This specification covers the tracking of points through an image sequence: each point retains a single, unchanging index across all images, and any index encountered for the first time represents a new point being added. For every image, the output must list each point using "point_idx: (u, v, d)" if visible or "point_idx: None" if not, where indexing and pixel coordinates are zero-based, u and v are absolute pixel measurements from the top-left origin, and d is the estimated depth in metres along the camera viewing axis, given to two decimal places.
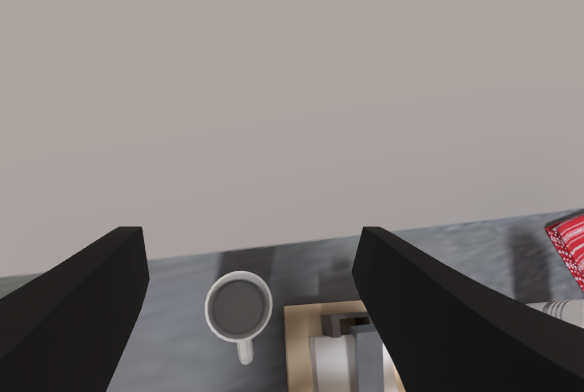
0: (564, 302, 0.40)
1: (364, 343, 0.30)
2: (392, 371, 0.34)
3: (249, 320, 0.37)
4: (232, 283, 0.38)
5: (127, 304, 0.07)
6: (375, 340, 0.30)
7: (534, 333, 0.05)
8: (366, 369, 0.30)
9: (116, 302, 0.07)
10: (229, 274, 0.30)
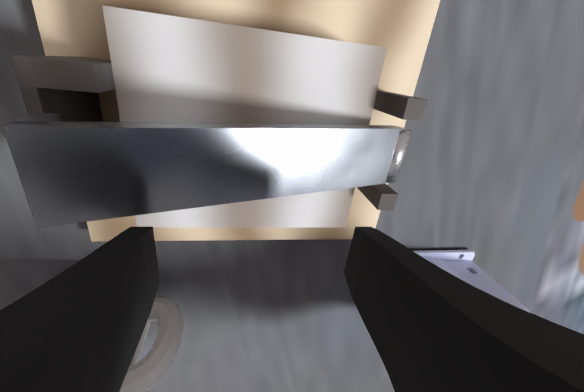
0: None
1: (78, 199, 0.08)
2: (225, 30, 0.11)
3: None
4: None
5: (139, 303, 0.07)
6: (61, 156, 0.08)
7: (519, 334, 0.05)
8: (174, 184, 0.10)
9: (129, 301, 0.07)
10: None
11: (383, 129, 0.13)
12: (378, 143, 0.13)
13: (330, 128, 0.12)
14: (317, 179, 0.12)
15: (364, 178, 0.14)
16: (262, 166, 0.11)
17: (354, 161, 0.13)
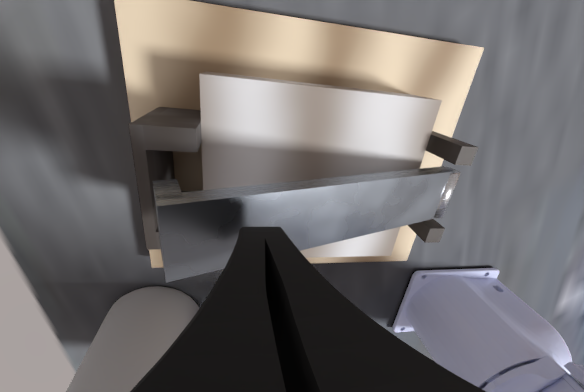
0: None
1: (199, 256, 0.10)
2: (302, 90, 0.13)
3: None
4: None
5: None
6: (193, 224, 0.09)
7: (341, 351, 0.04)
8: None
9: None
10: None
11: (437, 173, 0.14)
12: (432, 186, 0.15)
13: (395, 177, 0.13)
14: (380, 221, 0.14)
15: (417, 216, 0.15)
16: (339, 215, 0.12)
17: (411, 203, 0.14)
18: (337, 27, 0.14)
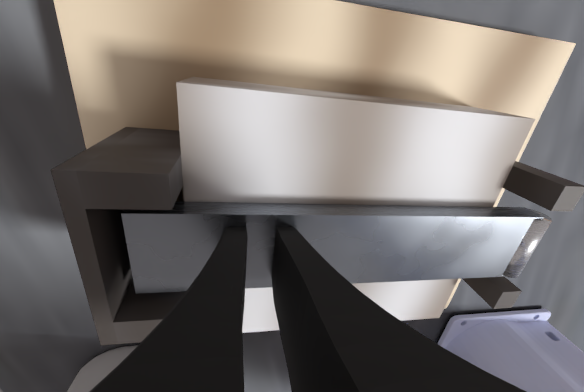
0: None
1: (171, 272, 0.09)
2: (336, 107, 0.08)
3: None
4: None
5: None
6: (162, 237, 0.08)
7: (370, 348, 0.04)
8: (257, 265, 0.09)
9: (243, 295, 0.07)
10: None
11: (510, 217, 0.10)
12: (500, 233, 0.11)
13: (438, 215, 0.10)
14: (412, 268, 0.11)
15: (473, 270, 0.11)
16: (350, 252, 0.10)
17: (463, 251, 0.11)
18: (381, 12, 0.10)
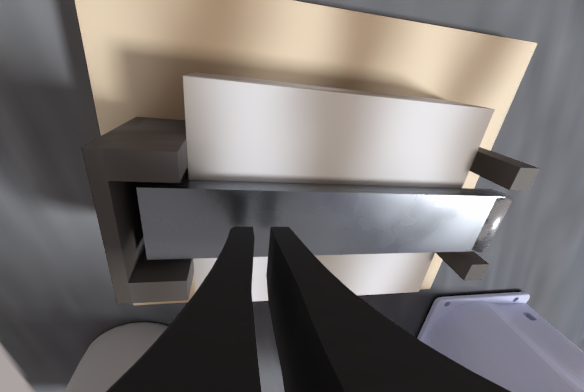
0: None
1: (177, 241, 0.10)
2: (319, 98, 0.10)
3: None
4: None
5: None
6: (170, 209, 0.10)
7: (359, 349, 0.04)
8: None
9: None
10: None
11: (474, 196, 0.12)
12: (466, 210, 0.12)
13: (410, 193, 0.11)
14: (390, 241, 0.12)
15: (445, 244, 0.13)
16: (333, 226, 0.11)
17: (434, 226, 0.12)
18: (361, 15, 0.11)
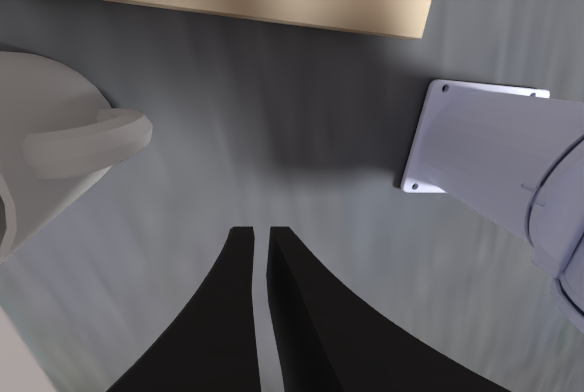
0: None
1: None
2: None
3: None
4: None
5: None
6: None
7: (359, 349, 0.04)
8: None
9: None
10: None
11: None
12: None
13: None
14: None
15: None
16: None
17: None
18: None
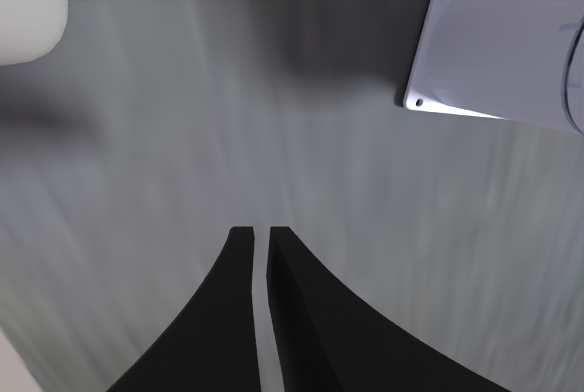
0: None
1: None
2: None
3: None
4: None
5: None
6: None
7: (359, 349, 0.04)
8: None
9: None
10: None
11: None
12: None
13: None
14: None
15: None
16: None
17: None
18: None
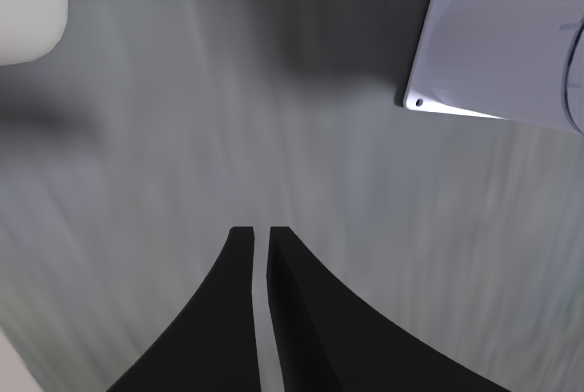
0: None
1: None
2: None
3: None
4: None
5: None
6: None
7: (359, 349, 0.04)
8: None
9: None
10: None
11: None
12: None
13: None
14: None
15: None
16: None
17: None
18: None
